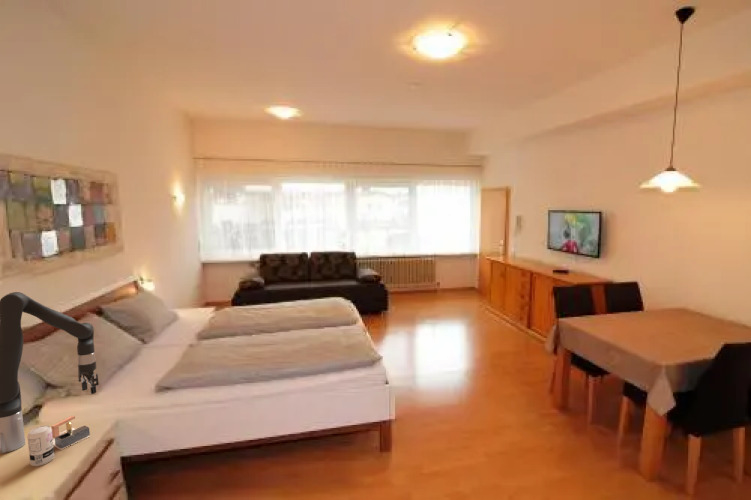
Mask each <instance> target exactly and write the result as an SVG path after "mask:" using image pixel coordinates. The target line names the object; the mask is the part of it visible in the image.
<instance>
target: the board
mask: <svg viewBox="0 0 751 500" xmlns="http://www.w3.org/2000/svg"><path fill="white" fill-rule="evenodd" d="M75 429H76V428H74V427H72V431H73V430H75ZM66 431H67V429H66V430H64V431H60V432H59V435H62V433H63V434H64V432H66ZM88 437H89V438H90V437H91V436H90V435H89V436H87V437H85V438H82V439H80V440H78V441H76V442H75V443H76V444H78V443H80V442H82V441H84V439H85V440H87V439H88ZM86 438H87V439H86ZM77 442H78V443H77ZM75 443H73V445H75ZM73 445H72V444H71V446H73ZM68 446H69V447H71V446H70V445H68ZM68 446H66V447H67V448H69V447H68ZM53 447H55V448H57V449H58V450H61V451H62V450H65V449H67V448H66V447H64V448H65V449H64V448H62V449H61V448H59V447H57V446H56V445H55V438H53Z"/></svg>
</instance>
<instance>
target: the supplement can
mask: <svg viewBox="0 0 751 500" xmlns="http://www.w3.org/2000/svg"><path fill="white" fill-rule="evenodd" d="M27 443H28V444H27V445H28V455H29V464H30V465H31V466H32V467H39V466H43V465H46V464H49V463H50V462H51V461H52V460H53V459H54V458H55V450H54V449H55V448H54V447H55V446H54V445H53V437H52V429H51V426H49V425H41V426H38V427H35V428H32V429H31V430H30V431H29V432H28V434H27Z"/></svg>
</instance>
